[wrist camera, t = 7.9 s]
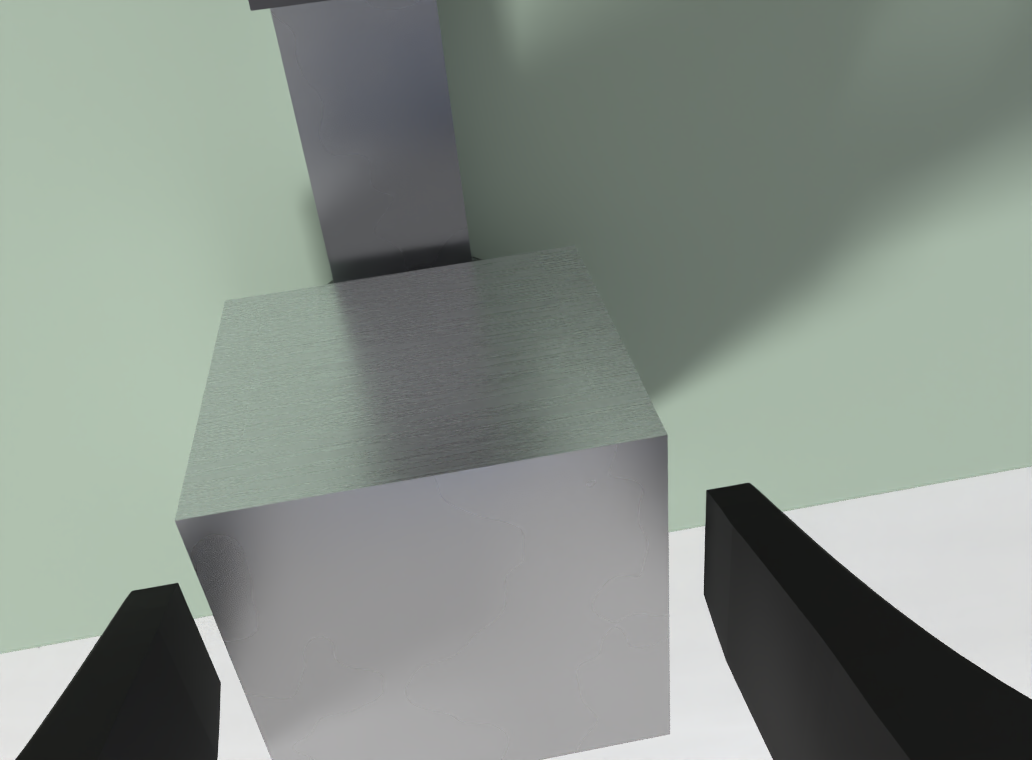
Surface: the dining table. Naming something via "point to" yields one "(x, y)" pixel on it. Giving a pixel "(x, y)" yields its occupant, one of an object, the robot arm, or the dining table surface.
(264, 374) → the brushed metal cube
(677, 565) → the dining table surface
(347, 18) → the handled tool
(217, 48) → the mat
